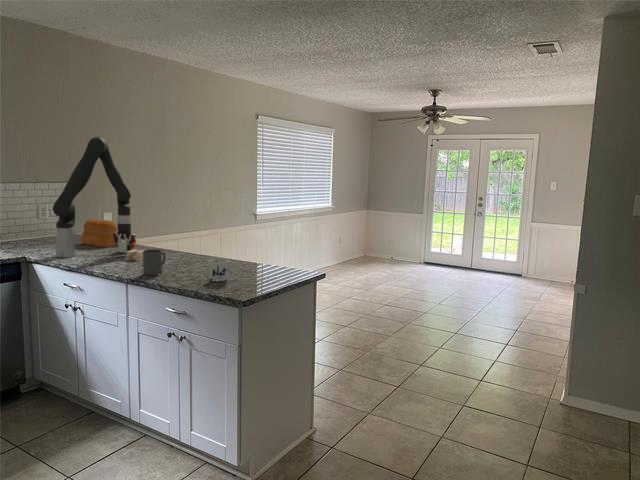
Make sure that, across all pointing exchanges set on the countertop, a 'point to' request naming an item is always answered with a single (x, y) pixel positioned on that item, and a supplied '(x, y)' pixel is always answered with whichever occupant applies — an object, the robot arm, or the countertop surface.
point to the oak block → (135, 255)
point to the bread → (99, 233)
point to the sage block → (122, 246)
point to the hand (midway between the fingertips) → (124, 250)
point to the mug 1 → (153, 262)
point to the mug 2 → (218, 268)
